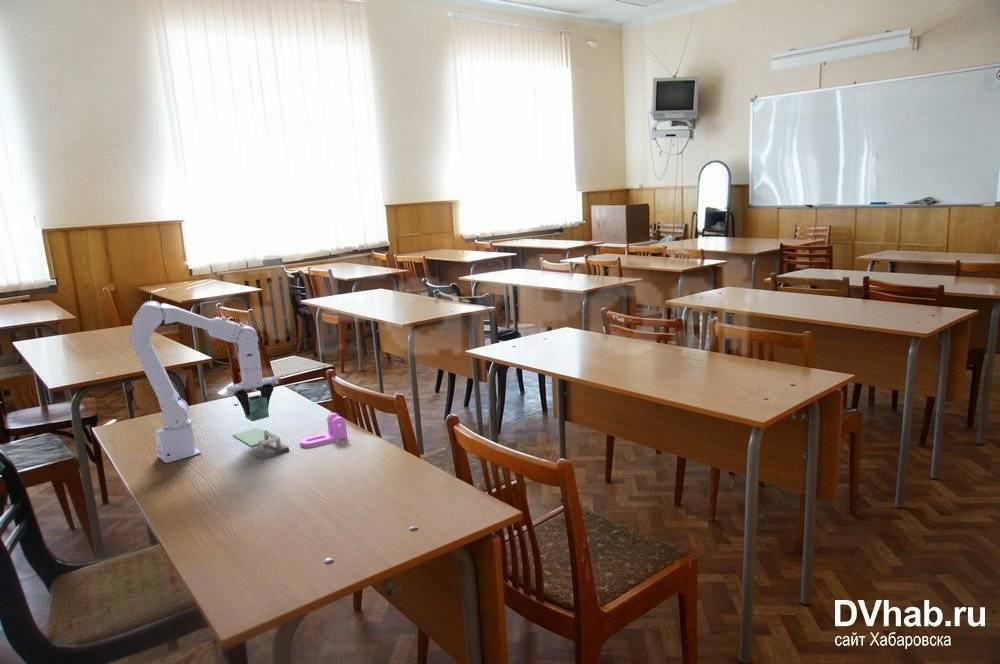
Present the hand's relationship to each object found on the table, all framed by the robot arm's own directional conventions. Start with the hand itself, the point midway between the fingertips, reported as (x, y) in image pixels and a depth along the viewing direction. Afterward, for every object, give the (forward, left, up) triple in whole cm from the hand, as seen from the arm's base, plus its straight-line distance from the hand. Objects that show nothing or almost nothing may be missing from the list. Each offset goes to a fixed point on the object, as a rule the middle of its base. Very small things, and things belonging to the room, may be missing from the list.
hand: (256, 412), depth 196 cm
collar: (0, 0, -2) cm, 2 cm away
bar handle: (-2, -9, -9) cm, 13 cm away
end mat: (0, +4, -9) cm, 10 cm away
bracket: (+12, -15, -9) cm, 22 cm away
